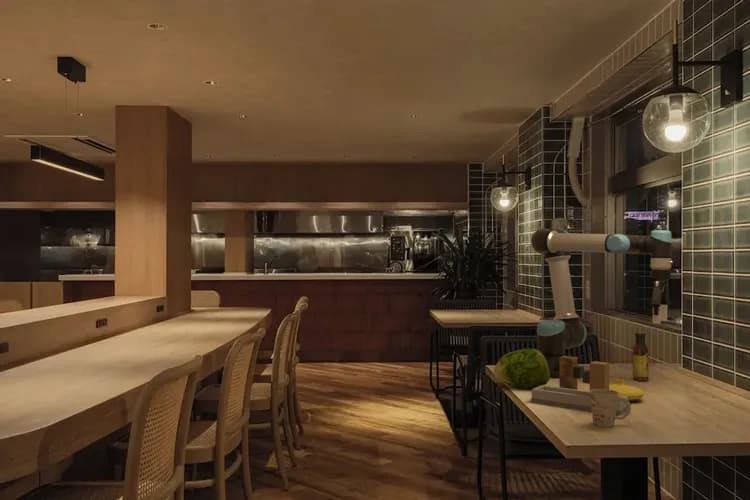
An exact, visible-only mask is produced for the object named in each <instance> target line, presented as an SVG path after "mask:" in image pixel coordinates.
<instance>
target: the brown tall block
mask: <svg viewBox="0 0 750 500" xmlns="http://www.w3.org/2000/svg"><path fill="white" fill-rule="evenodd" d="M578 360H579V357H578V356H568V355H565V356H563V357H560V376H559V384H558V385H559V386H558V387H560V388H567V389H575V390H579V389H578V383H579V382H578V379H580V380H581V379H583V371H584V370H585V366H583V365H578Z"/></svg>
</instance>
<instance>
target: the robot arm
mask: <svg viewBox="0 0 750 500" xmlns="http://www.w3.org/2000/svg"><path fill="white" fill-rule="evenodd" d="M672 243H673V240H672V231H670V230H665V229H663V230H662V229H661V230H658V229H657V230H652V231H651V233H650V235H649V234H648V235H633V234H622V233H613V234H609V233H608V234H607V233H576V232H575V233H569V231H566V230H564V229H560V228H553V229H552V228H540V229H537V230H535V231H534V233H533V234H532V236H531V238H530V244H531V246H532V247H531V248H532V249H533V250H534V251H535V252H536V253H538V254H540V255H543V257H544V261H545V262H546V263H548V268H549V275H550V277H549V278H550V282H551V289H552V298H553V303H554V305H553V306H554V313H555V316H554V317H553V319H549V320H548V319H546V320H541V321H540V322H538V323H537V325H536V327H537V328H536V350H539V351H540V352H541V353H542V354H543V356H544V357H545V359H546V361H547V364H548V368H549V372H550V378H552V379H553V378H554V379H555V378H556V379H558V378H559V376H560V357H563V356H566V355H565V352H566V351H565V350H566V349H574V348H578V347H580V346H581V345H583V344H584V342H585V341H586V340H587V339H586V338H587V334H588V333H587V331H588V330H587V328H586V326H585V325H584V324H583V323H582V322H581V317H580V316H579V314H577V313H576V308H575V301H574V295H573V287H572V279H571V273H570V267H569V265H570V264H569V260H570V258H572V257H571V255H572V254H571V252H583V253H584V252H586V253H609V254H626V255H627V254H628V255H643V254H644V255H650V268H651V269H650V279H654V280H655V281H654V280H653V289H652V299H651V303H650V307H652V324H655V325H656V324H657V325H658V324H659V325H661V322H667V321H668V306H670V302H669V292H668V291H669V290H668V280H670V279H671V278H672V270H671V268H672V264H673V263H674V261H673V260H672V245H673V244H672ZM671 280H672V279H671Z"/></svg>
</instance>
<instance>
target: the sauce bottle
mask: <svg viewBox="0 0 750 500" xmlns="http://www.w3.org/2000/svg"><path fill="white" fill-rule="evenodd" d="M634 337H635V344H634V346H633V348H632V379H633V380H634V381H636V380H637V381H638V382H647V381H649V377H650V376H649V374H650V371H649V368H650V365H649V363H650V360H649V349H648V347H647V344H646V332H635V333H634Z"/></svg>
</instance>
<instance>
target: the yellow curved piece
mask: <svg viewBox="0 0 750 500" xmlns="http://www.w3.org/2000/svg"><path fill="white" fill-rule="evenodd" d="M616 381H617V382H616V383H614V384H609V390H614V391H617V392H618V395H620V396H627V397H628V401H629V402H631V401H632V402H633V401H637V400H639V399H643V397H644V395H645V392H644V391H643V389H641V388H638V387H635V386H631V385H628V384H627V385H626V384H625V380H624V379H622V378H621V379H620V378H619V379H617V380H616Z"/></svg>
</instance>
